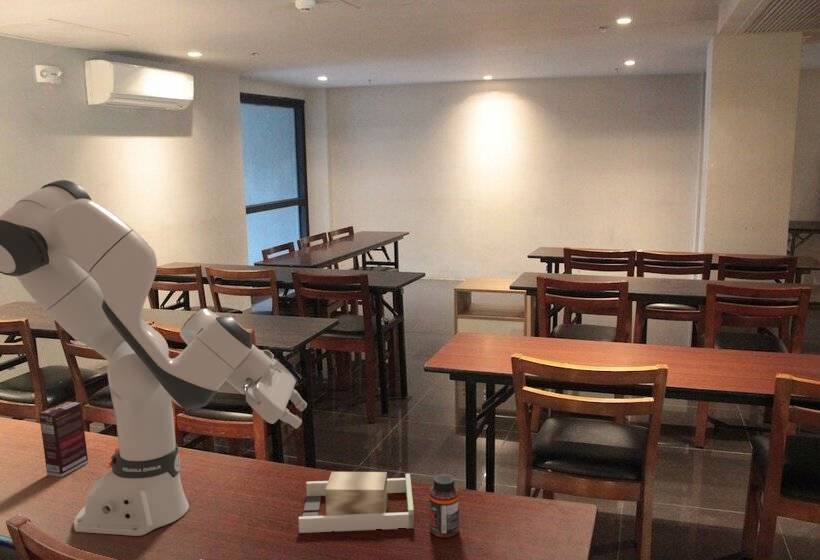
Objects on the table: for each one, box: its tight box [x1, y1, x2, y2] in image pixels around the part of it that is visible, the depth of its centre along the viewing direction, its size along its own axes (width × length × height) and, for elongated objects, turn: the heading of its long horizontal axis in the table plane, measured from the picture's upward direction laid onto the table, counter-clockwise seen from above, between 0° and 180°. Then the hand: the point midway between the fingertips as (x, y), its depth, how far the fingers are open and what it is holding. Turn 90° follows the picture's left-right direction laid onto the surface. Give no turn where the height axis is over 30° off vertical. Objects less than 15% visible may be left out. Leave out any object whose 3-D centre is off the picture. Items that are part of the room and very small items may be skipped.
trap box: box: [298, 473, 415, 534], centre depth 146 cm, size 23×16×4 cm
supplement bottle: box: [428, 473, 460, 539], centre depth 136 cm, size 6×6×11 cm
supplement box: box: [38, 400, 89, 478], centre depth 167 cm, size 9×5×16 cm, turn 159°
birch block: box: [324, 471, 389, 515], centre depth 145 cm, size 12×8×7 cm, turn 87°
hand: (302, 416), depth 142 cm, fingers open, 8 cm apart
